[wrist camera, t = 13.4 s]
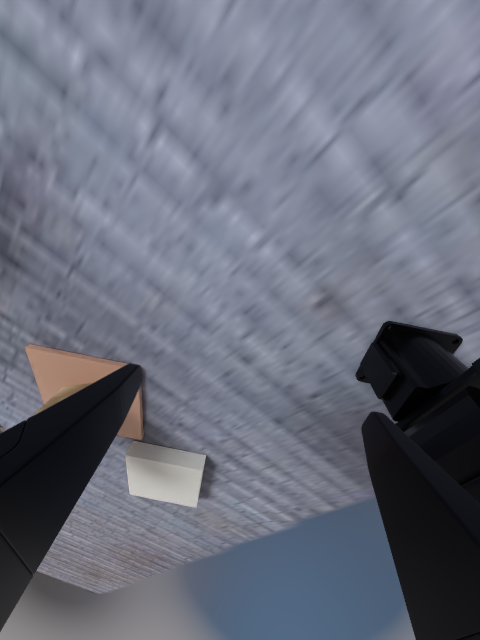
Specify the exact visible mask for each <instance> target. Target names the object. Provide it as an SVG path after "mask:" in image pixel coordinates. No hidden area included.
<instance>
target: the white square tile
mask: <svg viewBox="0 0 480 640" xmlns="http://www.w3.org/2000/svg"><path fill="white" fill-rule="evenodd" d="M125 457H126V465H127V474H128V483H129V492H130V494H131V495H136V496H141V497H146V498H151V499H156V500H161V501H166V502H171V503H176V504H181V505H186V506H191V507H197V502H198V498H199V493H200V488H201V482H202V477H203V471H204V465H205V459H206V455H202V454H197V453H192V452H187V451H182V450H177V449H172V448H167V447H162V446H157V445H152V444H147V443H142V442H137V441H133V442H132V444H131V445H130V447H129V449H128V451H127V453H126V455H125Z"/></svg>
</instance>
